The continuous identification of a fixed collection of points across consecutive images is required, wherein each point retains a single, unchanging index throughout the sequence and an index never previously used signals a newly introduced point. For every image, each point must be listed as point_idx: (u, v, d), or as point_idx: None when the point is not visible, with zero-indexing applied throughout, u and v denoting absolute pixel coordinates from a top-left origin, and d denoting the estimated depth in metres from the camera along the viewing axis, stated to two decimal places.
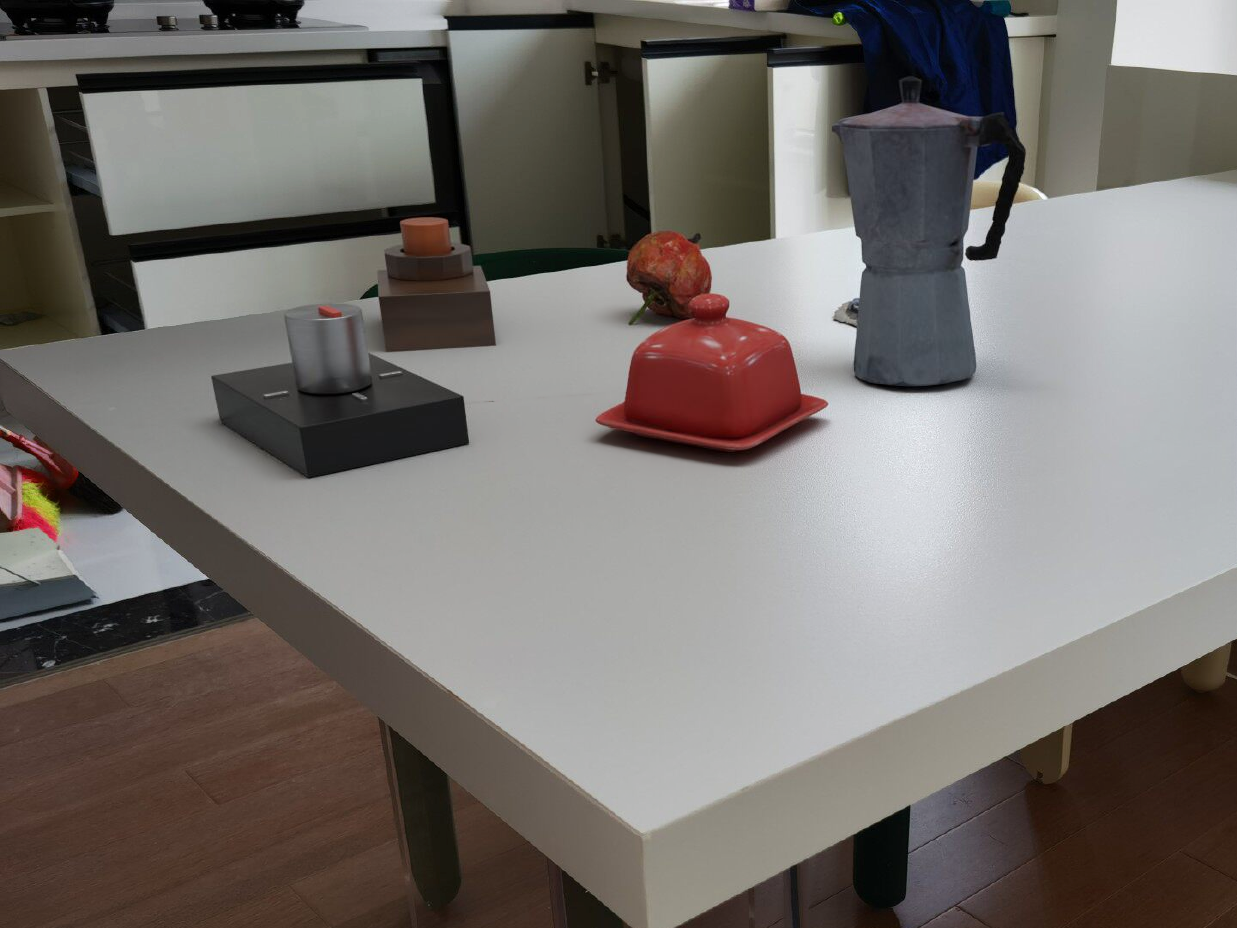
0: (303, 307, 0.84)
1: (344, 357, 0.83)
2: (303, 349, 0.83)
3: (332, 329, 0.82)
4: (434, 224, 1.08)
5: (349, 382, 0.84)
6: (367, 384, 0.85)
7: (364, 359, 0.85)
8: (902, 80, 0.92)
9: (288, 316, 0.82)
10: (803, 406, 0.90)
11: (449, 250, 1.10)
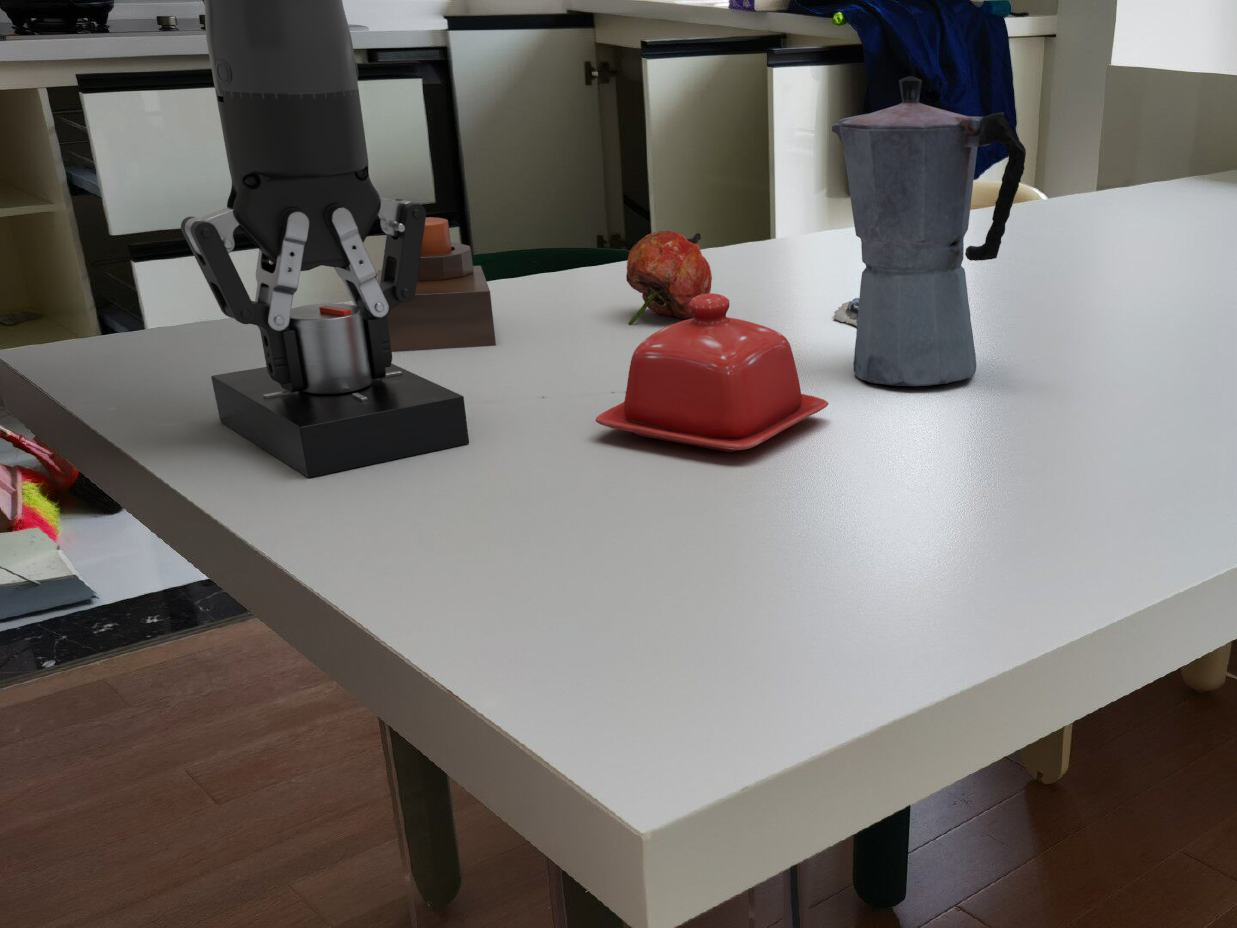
0: (297, 309, 0.84)
1: (354, 354, 0.84)
2: (314, 349, 0.82)
3: (344, 327, 0.83)
4: (434, 224, 1.08)
5: (359, 380, 0.84)
6: (371, 381, 0.86)
7: (368, 356, 0.85)
8: (902, 80, 0.92)
9: (295, 318, 0.82)
10: (803, 406, 0.90)
11: (449, 250, 1.10)
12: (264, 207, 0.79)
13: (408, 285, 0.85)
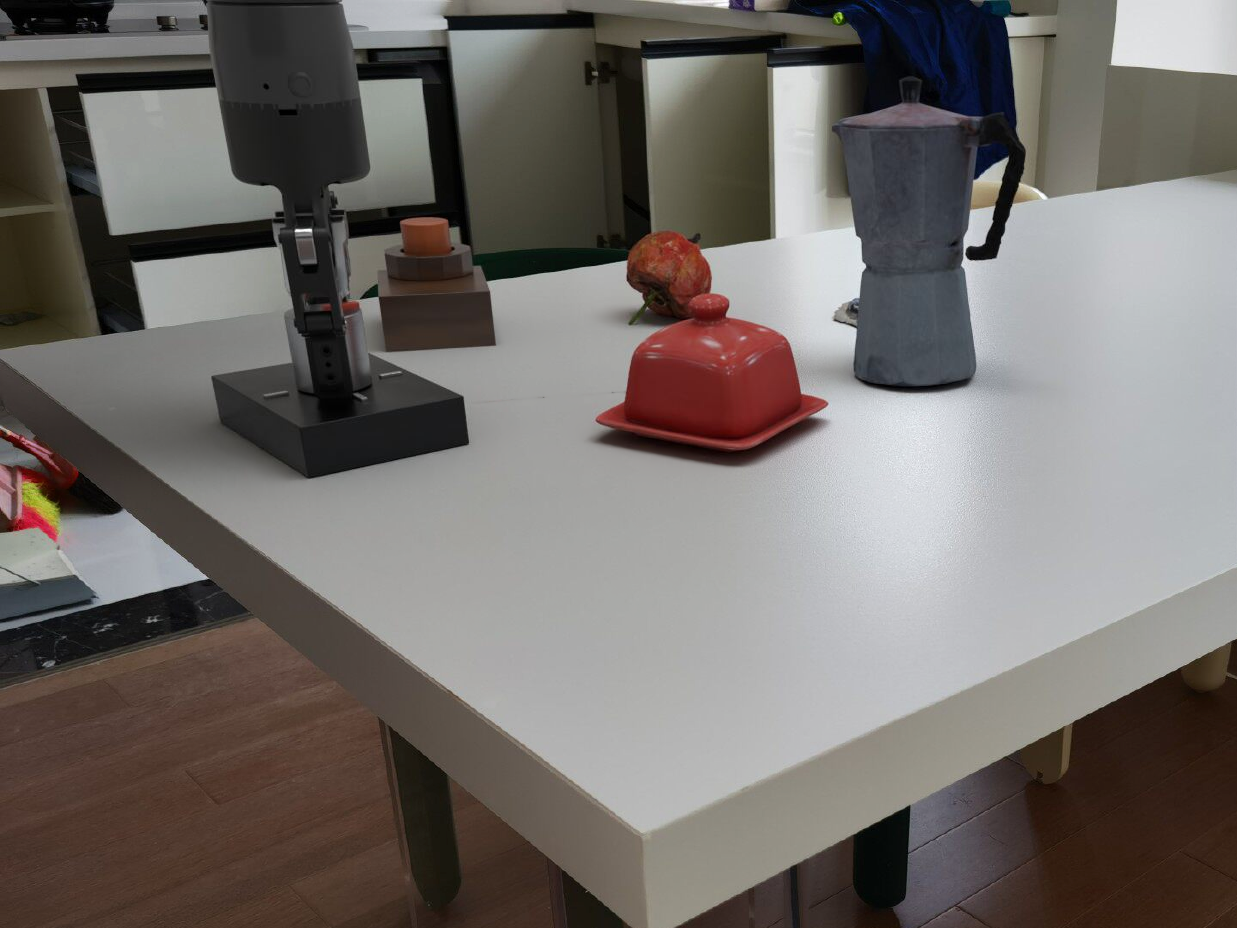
0: None
1: None
2: (357, 344, 0.84)
3: None
4: (434, 224, 1.08)
5: None
6: None
7: None
8: (902, 80, 0.92)
9: None
10: (803, 406, 0.90)
11: (449, 250, 1.10)
12: (327, 216, 0.80)
13: None
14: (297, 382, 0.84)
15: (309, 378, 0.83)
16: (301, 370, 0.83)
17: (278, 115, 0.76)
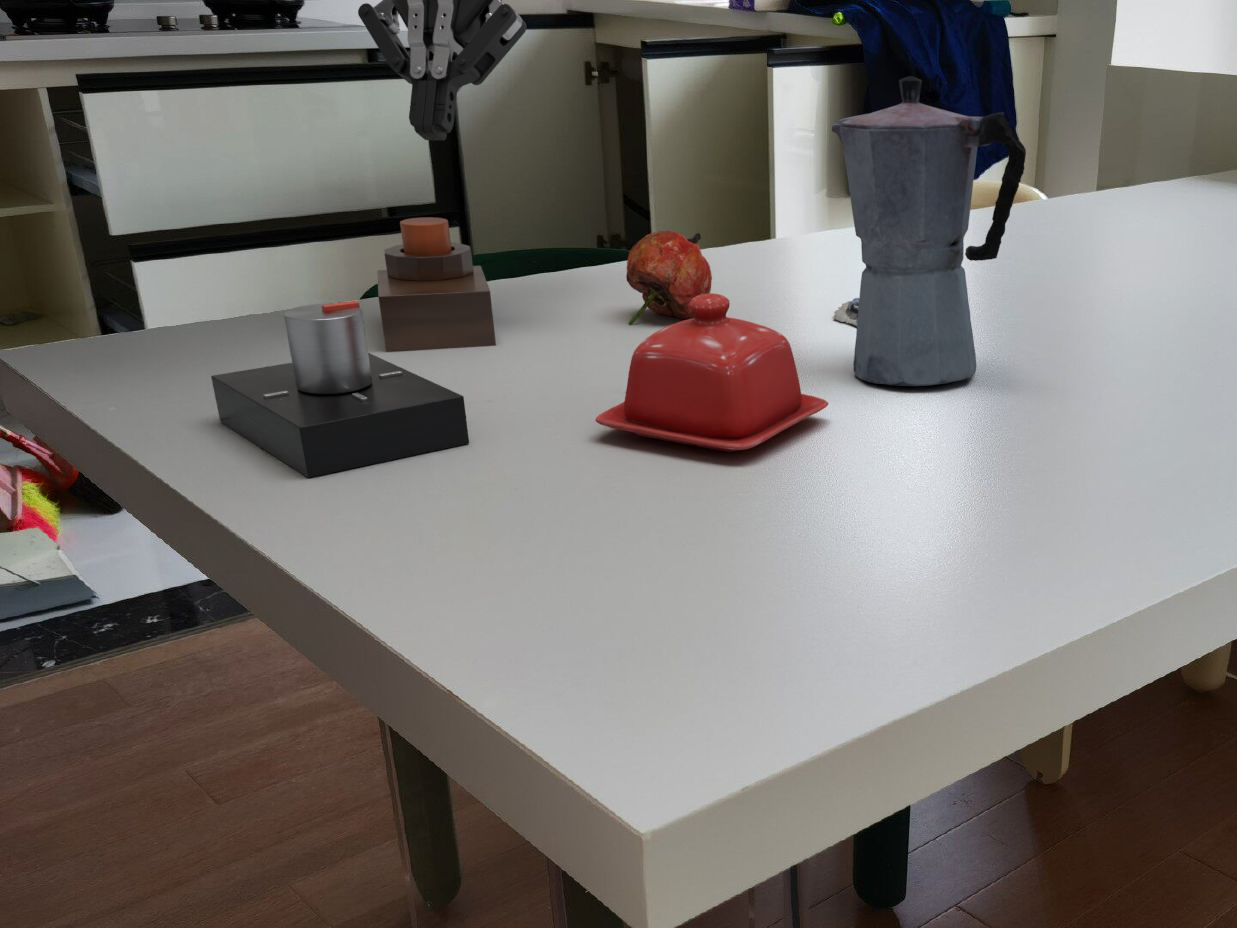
0: (298, 316, 0.82)
1: None
2: (357, 344, 0.84)
3: None
4: (434, 224, 1.08)
5: None
6: None
7: None
8: (902, 80, 0.92)
9: (336, 317, 0.82)
10: (803, 406, 0.90)
11: (449, 250, 1.10)
12: None
13: None
14: (297, 382, 0.84)
15: (309, 378, 0.83)
16: (301, 370, 0.83)
17: None
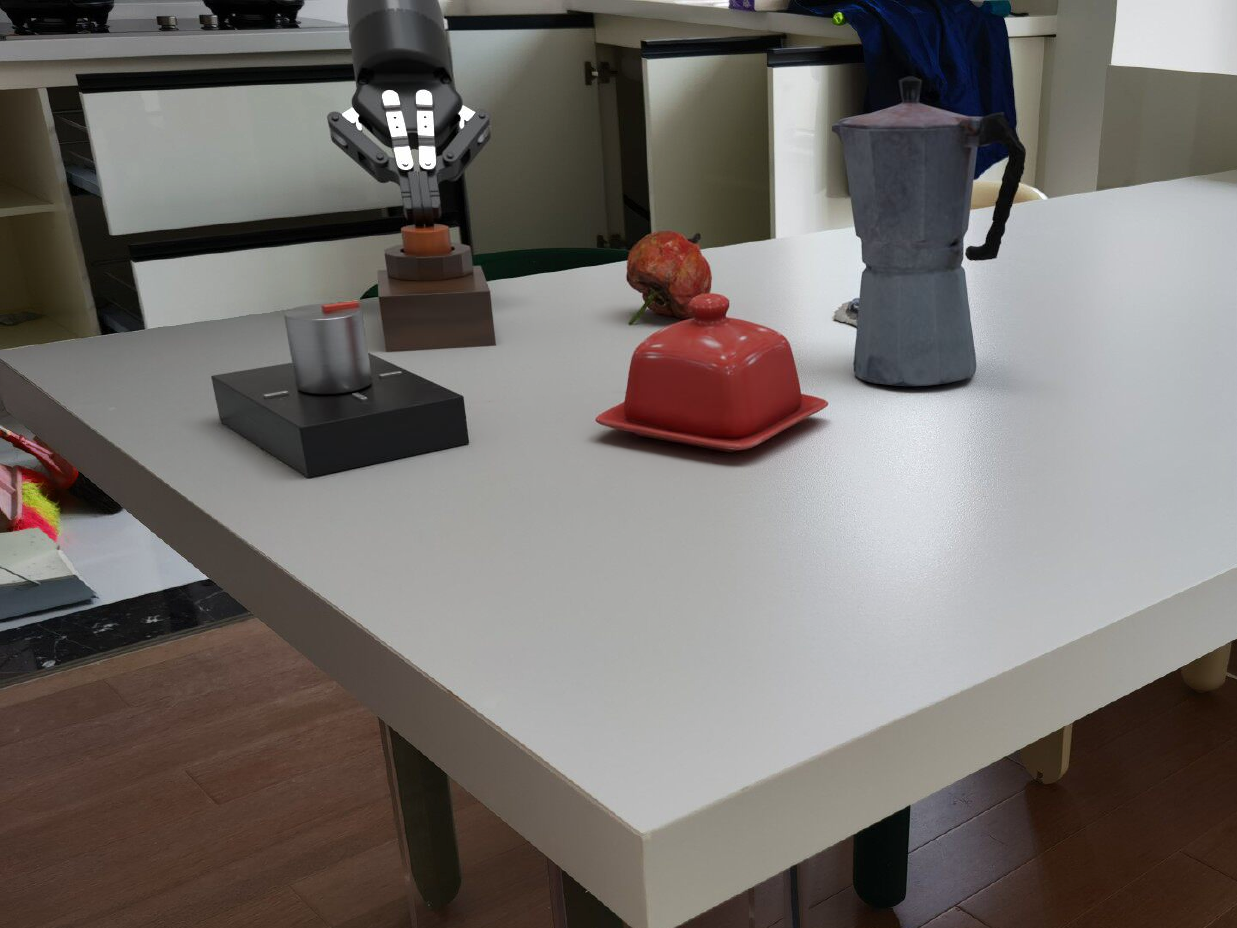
0: (298, 316, 0.82)
1: None
2: (357, 344, 0.84)
3: None
4: (435, 231, 1.08)
5: None
6: None
7: None
8: (902, 80, 0.92)
9: (336, 317, 0.82)
10: (803, 406, 0.90)
11: None
12: None
13: None
14: (297, 382, 0.84)
15: (309, 378, 0.83)
16: (301, 370, 0.83)
17: (446, 44, 1.14)
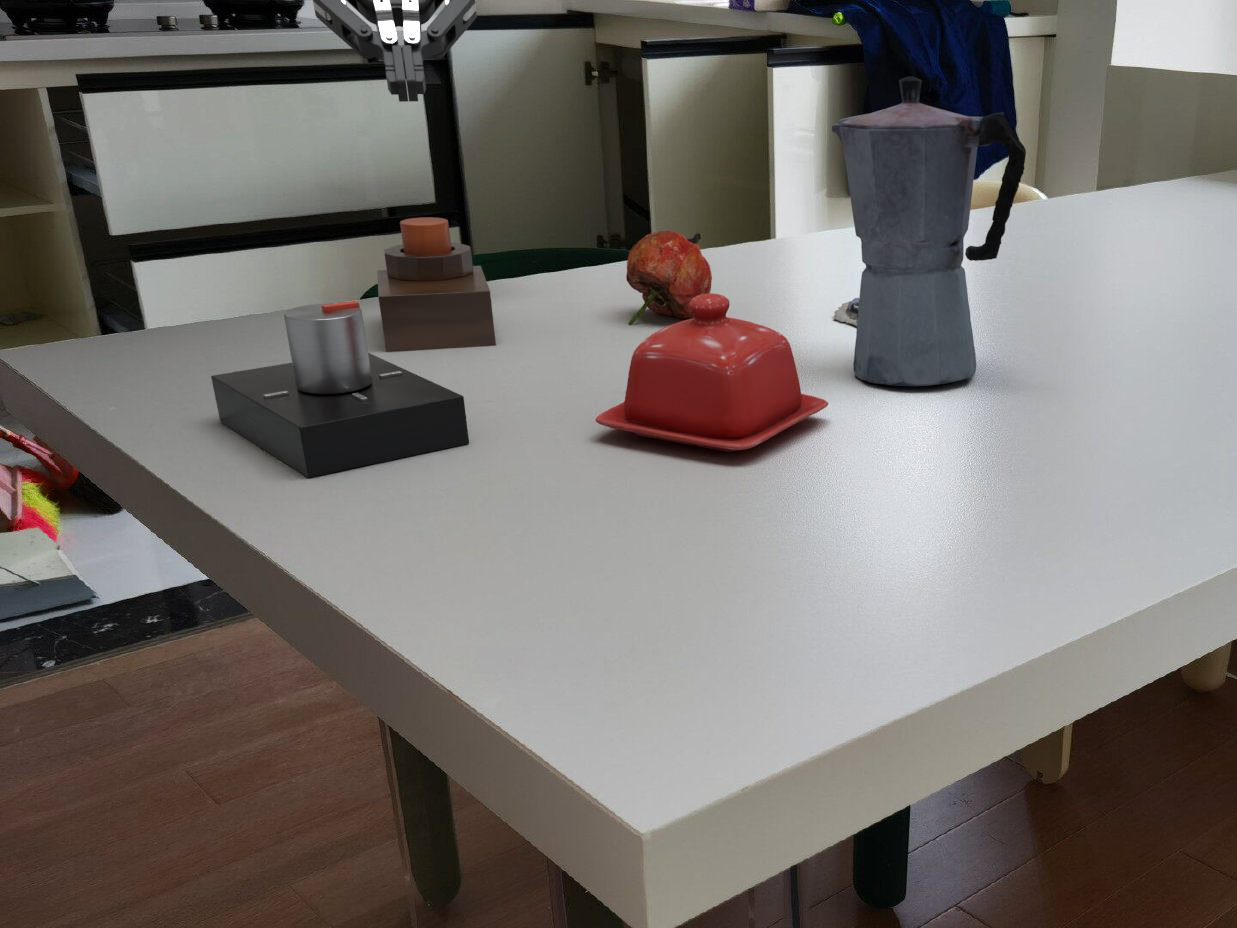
0: (298, 316, 0.82)
1: None
2: (357, 344, 0.84)
3: None
4: (434, 224, 1.08)
5: None
6: None
7: None
8: (902, 80, 0.92)
9: (336, 317, 0.82)
10: (803, 406, 0.90)
11: (449, 250, 1.10)
12: None
13: None
14: (297, 382, 0.84)
15: (309, 378, 0.83)
16: (301, 370, 0.83)
17: None
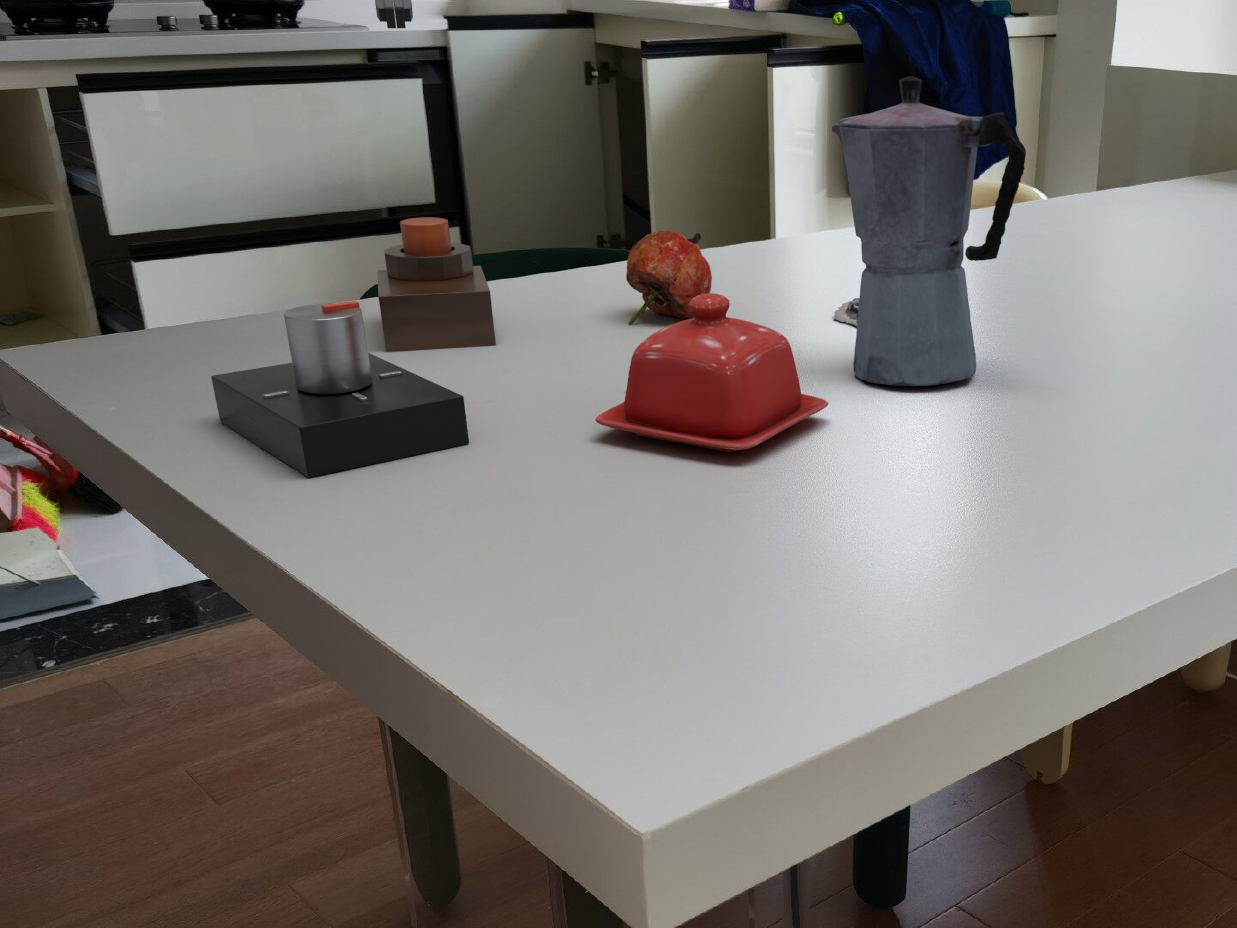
0: (298, 316, 0.82)
1: None
2: (357, 344, 0.84)
3: None
4: (434, 224, 1.08)
5: None
6: None
7: None
8: (902, 80, 0.92)
9: (336, 317, 0.82)
10: (803, 406, 0.90)
11: (449, 250, 1.10)
12: None
13: None
14: (297, 382, 0.84)
15: (309, 378, 0.83)
16: (301, 370, 0.83)
17: None
